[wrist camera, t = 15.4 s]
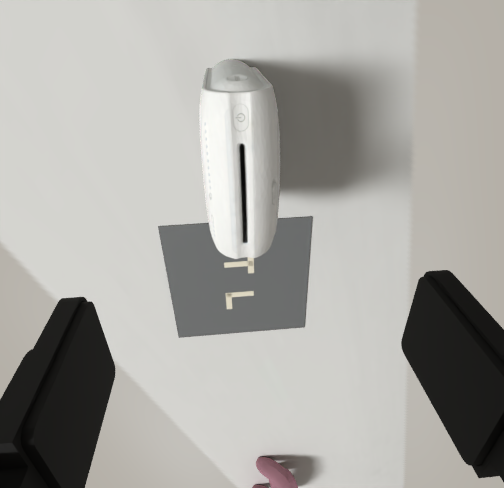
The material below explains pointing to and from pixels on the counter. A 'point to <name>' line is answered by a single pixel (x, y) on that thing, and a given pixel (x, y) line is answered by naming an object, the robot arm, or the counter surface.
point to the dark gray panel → (237, 280)
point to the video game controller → (275, 474)
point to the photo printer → (240, 158)
